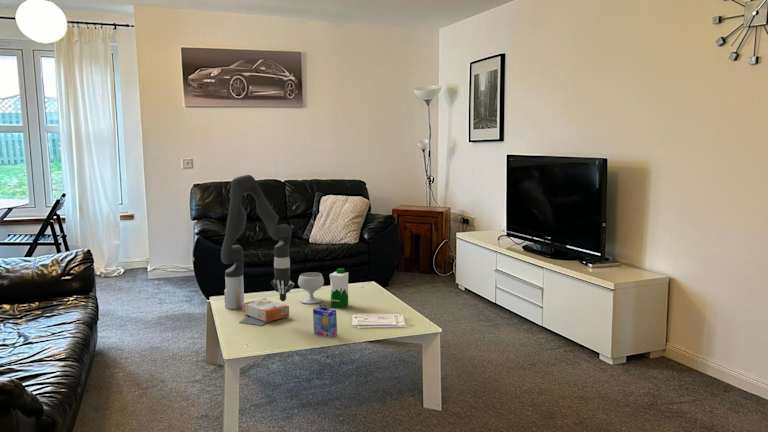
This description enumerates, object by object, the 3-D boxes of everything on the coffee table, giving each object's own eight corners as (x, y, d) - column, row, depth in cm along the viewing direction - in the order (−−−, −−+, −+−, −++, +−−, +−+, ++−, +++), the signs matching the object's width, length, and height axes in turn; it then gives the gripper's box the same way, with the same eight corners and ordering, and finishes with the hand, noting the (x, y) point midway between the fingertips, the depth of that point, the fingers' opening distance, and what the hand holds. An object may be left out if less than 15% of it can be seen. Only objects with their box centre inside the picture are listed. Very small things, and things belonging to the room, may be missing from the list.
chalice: (329, 300, 318) (328, 273, 316) (313, 306, 306) (312, 278, 304) (309, 296, 325) (309, 270, 323) (293, 302, 313) (292, 275, 311)
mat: (238, 322, 279) (238, 321, 279) (260, 312, 295) (260, 311, 295) (261, 326, 274) (261, 325, 274) (282, 315, 290) (282, 314, 290)
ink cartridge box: (312, 334, 261) (312, 304, 259) (320, 331, 266) (319, 301, 264) (330, 338, 256) (329, 307, 254) (337, 335, 261) (336, 304, 259)
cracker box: (266, 310, 276) (242, 302, 290) (266, 322, 277) (242, 314, 291) (289, 304, 286) (265, 297, 301) (289, 316, 287) (265, 309, 301)
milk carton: (350, 305, 308) (349, 268, 305) (343, 309, 299) (342, 272, 297) (335, 303, 311) (335, 267, 308) (328, 307, 303) (327, 271, 300)
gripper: (266, 266, 275) (267, 301, 277) (289, 268, 270) (290, 304, 272) (274, 263, 282) (276, 297, 284) (297, 265, 276) (298, 300, 279)
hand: (283, 300), depth 278 cm, fingers closed
